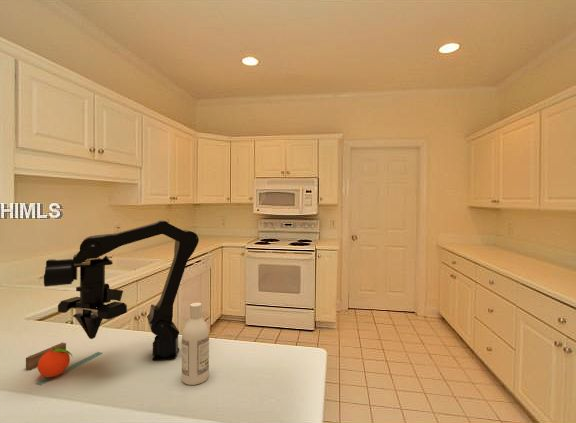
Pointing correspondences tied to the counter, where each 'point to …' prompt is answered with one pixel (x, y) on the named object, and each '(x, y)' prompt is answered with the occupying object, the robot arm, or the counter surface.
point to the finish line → (69, 368)
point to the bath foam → (195, 348)
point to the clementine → (54, 362)
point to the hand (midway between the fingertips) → (92, 338)
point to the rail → (34, 359)
